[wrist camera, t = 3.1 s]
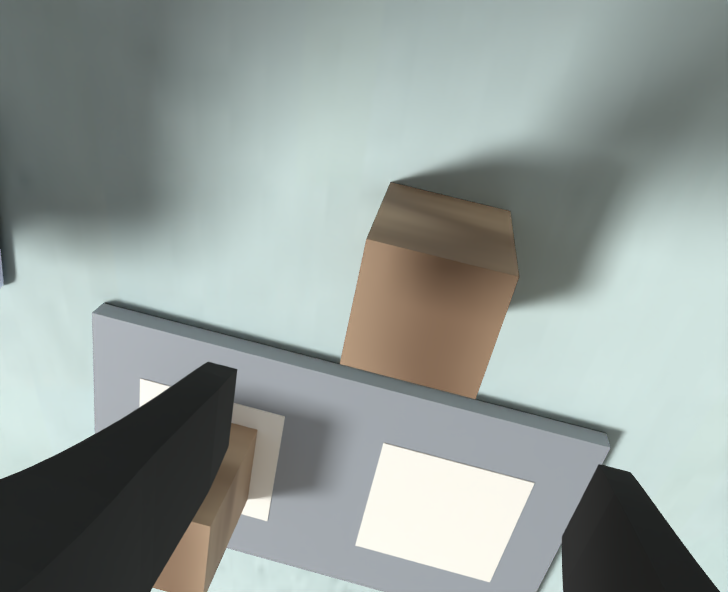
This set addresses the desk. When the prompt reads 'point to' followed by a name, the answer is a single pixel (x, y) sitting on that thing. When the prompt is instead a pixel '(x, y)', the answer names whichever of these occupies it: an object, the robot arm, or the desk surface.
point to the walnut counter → (432, 290)
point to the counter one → (213, 519)
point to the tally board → (367, 462)
